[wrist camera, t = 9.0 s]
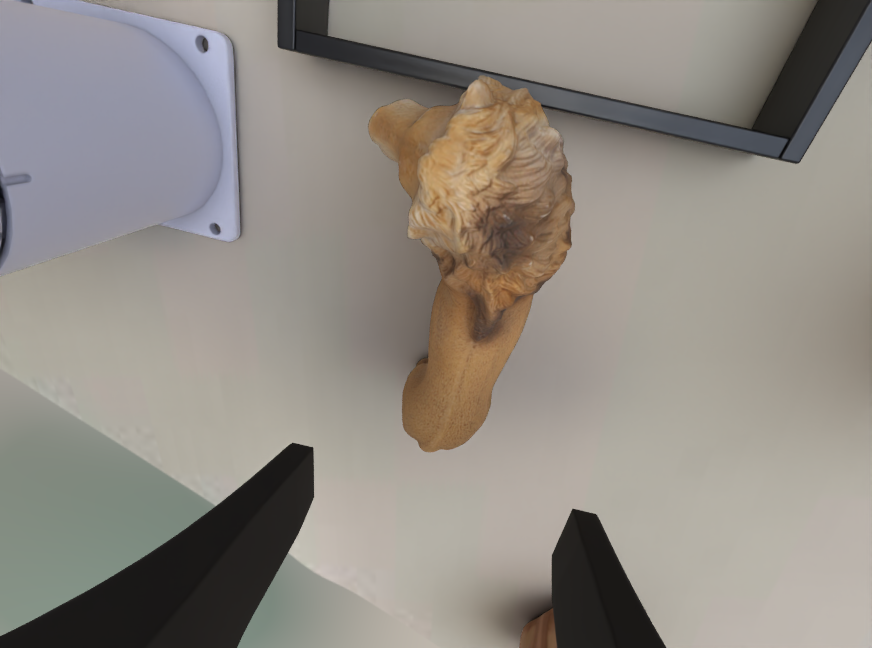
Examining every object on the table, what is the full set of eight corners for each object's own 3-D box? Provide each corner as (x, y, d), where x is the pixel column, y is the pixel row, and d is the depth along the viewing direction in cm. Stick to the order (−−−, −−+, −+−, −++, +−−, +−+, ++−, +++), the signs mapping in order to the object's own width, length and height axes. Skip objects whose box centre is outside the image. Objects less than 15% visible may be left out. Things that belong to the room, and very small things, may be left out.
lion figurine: (424, 82, 15) (322, 57, 7) (575, 90, 14) (645, 72, 7) (414, 403, 22) (356, 568, 14) (515, 418, 21) (514, 601, 13)
